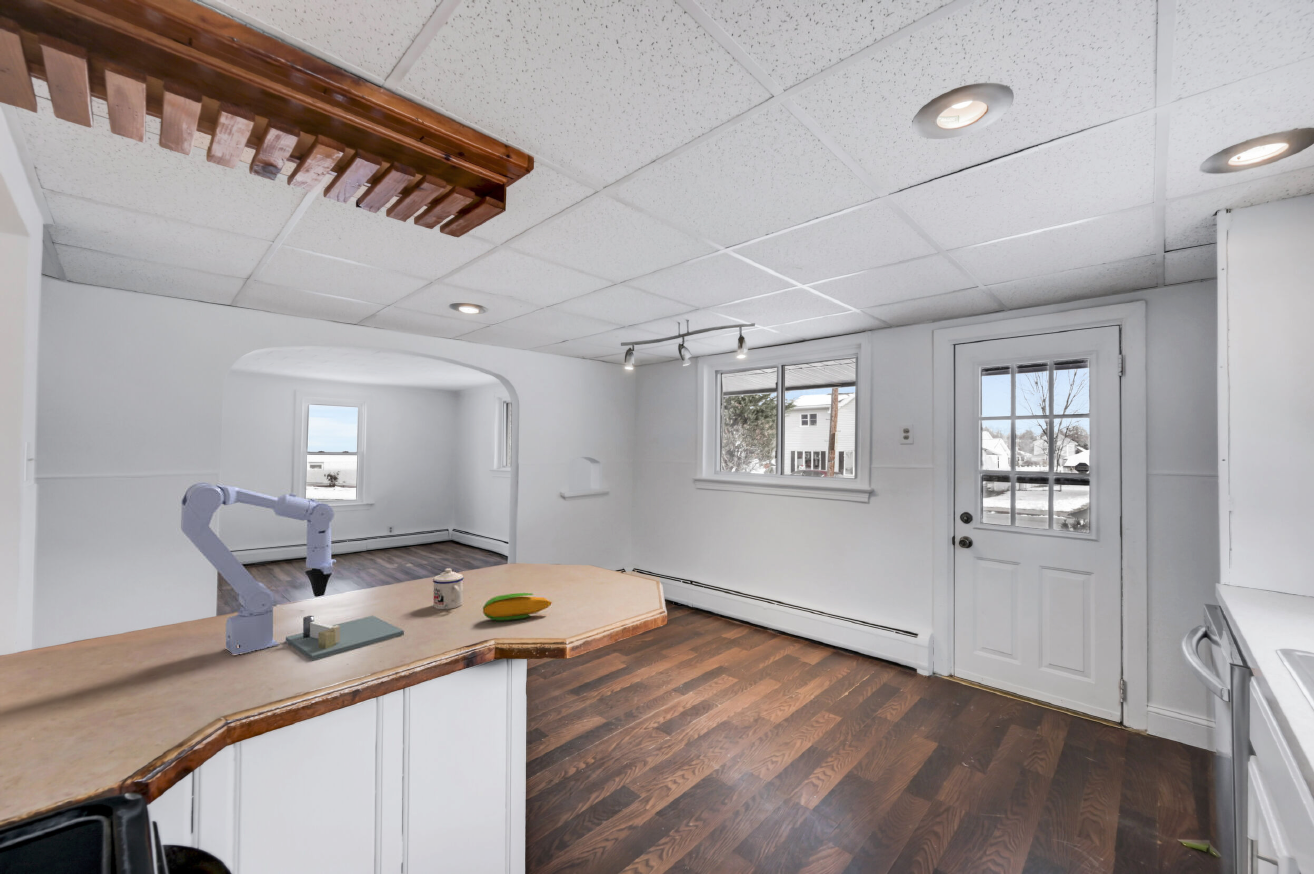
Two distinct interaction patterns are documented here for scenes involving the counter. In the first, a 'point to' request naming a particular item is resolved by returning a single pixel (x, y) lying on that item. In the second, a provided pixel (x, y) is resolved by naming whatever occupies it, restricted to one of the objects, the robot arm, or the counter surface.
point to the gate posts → (324, 638)
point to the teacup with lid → (448, 590)
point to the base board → (347, 637)
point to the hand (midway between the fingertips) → (319, 595)
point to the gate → (320, 627)
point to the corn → (514, 606)
